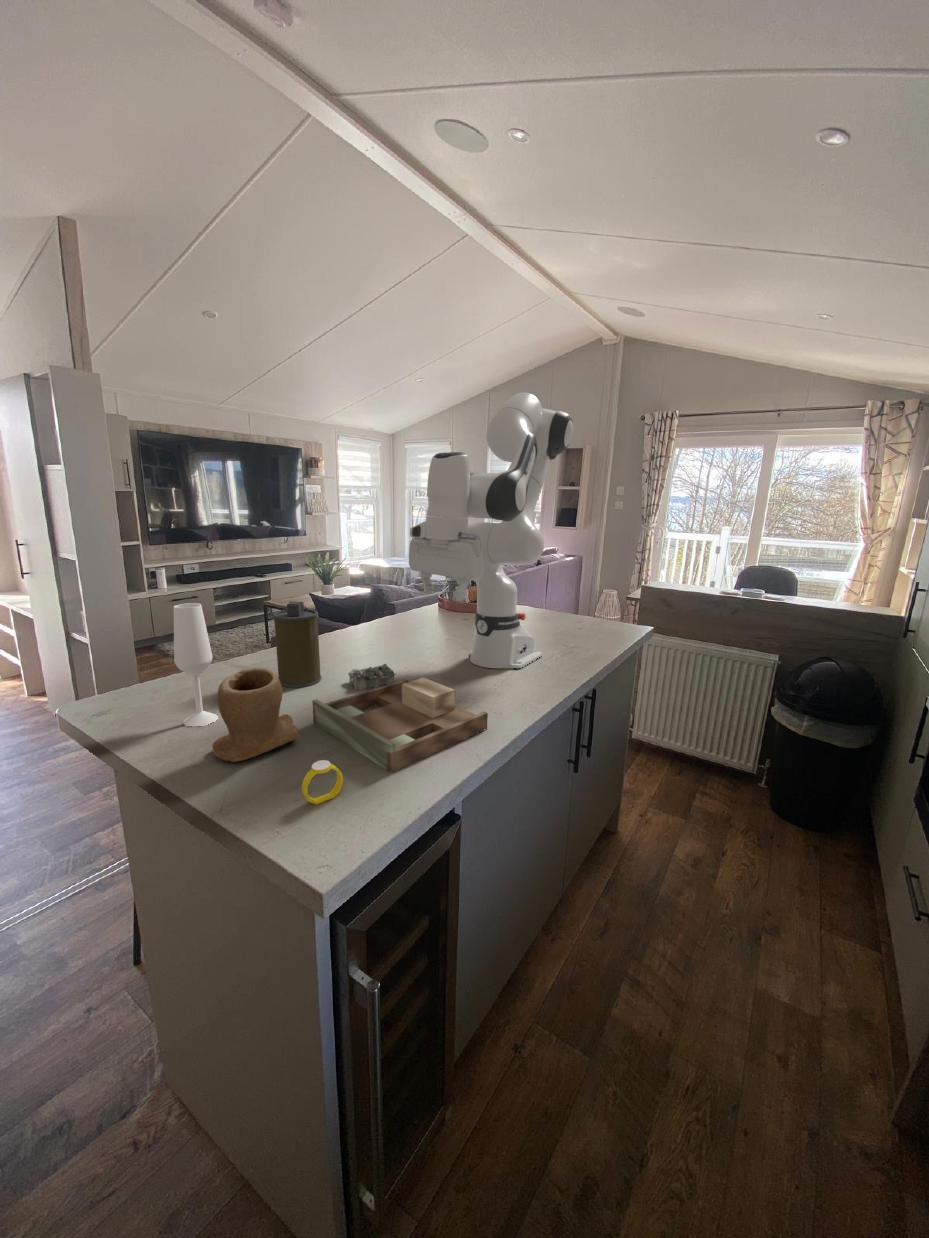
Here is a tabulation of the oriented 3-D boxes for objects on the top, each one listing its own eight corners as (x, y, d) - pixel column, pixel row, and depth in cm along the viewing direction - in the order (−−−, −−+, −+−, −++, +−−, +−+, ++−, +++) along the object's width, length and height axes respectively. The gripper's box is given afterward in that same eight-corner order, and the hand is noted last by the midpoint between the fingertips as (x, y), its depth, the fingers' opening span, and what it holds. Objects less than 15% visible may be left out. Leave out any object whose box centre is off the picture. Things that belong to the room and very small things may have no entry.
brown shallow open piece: (406, 693, 118) (406, 673, 117) (487, 729, 100) (487, 705, 99) (313, 723, 101) (312, 700, 100) (391, 772, 84) (390, 745, 82)
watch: (309, 812, 73) (304, 776, 72) (302, 803, 75) (297, 768, 74) (346, 795, 77) (342, 761, 75) (338, 787, 79) (334, 754, 77)
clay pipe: (233, 776, 82) (225, 691, 78) (205, 751, 90) (196, 672, 86) (316, 745, 93) (311, 668, 89) (284, 725, 100) (279, 654, 97)
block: (423, 696, 111) (423, 677, 110) (454, 709, 104) (454, 689, 103) (402, 703, 107) (401, 684, 106) (432, 718, 100) (433, 697, 99)
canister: (314, 688, 120) (309, 607, 115) (271, 687, 120) (264, 606, 116) (327, 673, 131) (323, 598, 126) (287, 672, 131) (282, 597, 126)
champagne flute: (223, 721, 102) (211, 606, 96) (186, 730, 97) (171, 610, 92) (213, 710, 107) (201, 600, 101) (178, 719, 102) (164, 604, 97)
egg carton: (355, 693, 119) (355, 676, 118) (346, 682, 125) (346, 667, 124) (397, 685, 124) (397, 669, 123) (387, 676, 130) (386, 661, 129)
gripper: (492, 534, 100) (488, 602, 102) (426, 529, 114) (424, 589, 116) (470, 534, 95) (466, 605, 98) (404, 528, 109) (402, 590, 112)
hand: (442, 596), depth 107 cm, fingers open, 8 cm apart
